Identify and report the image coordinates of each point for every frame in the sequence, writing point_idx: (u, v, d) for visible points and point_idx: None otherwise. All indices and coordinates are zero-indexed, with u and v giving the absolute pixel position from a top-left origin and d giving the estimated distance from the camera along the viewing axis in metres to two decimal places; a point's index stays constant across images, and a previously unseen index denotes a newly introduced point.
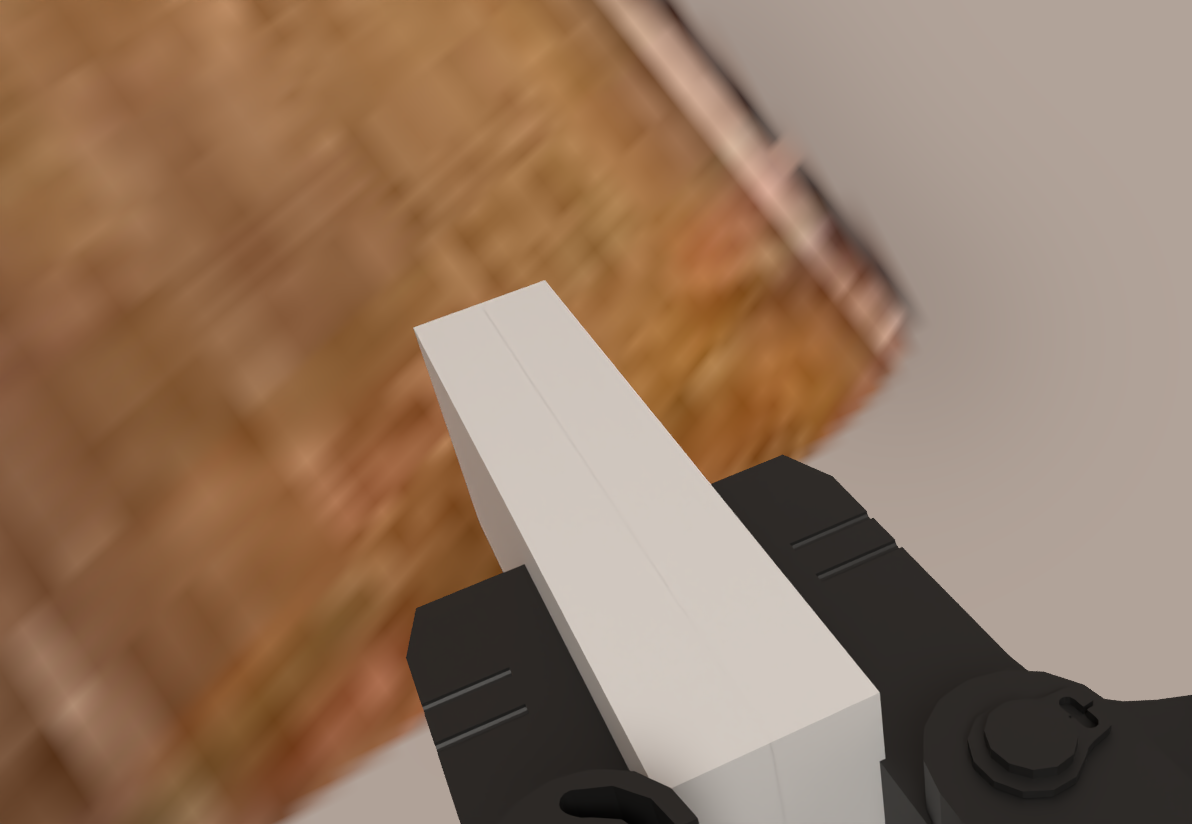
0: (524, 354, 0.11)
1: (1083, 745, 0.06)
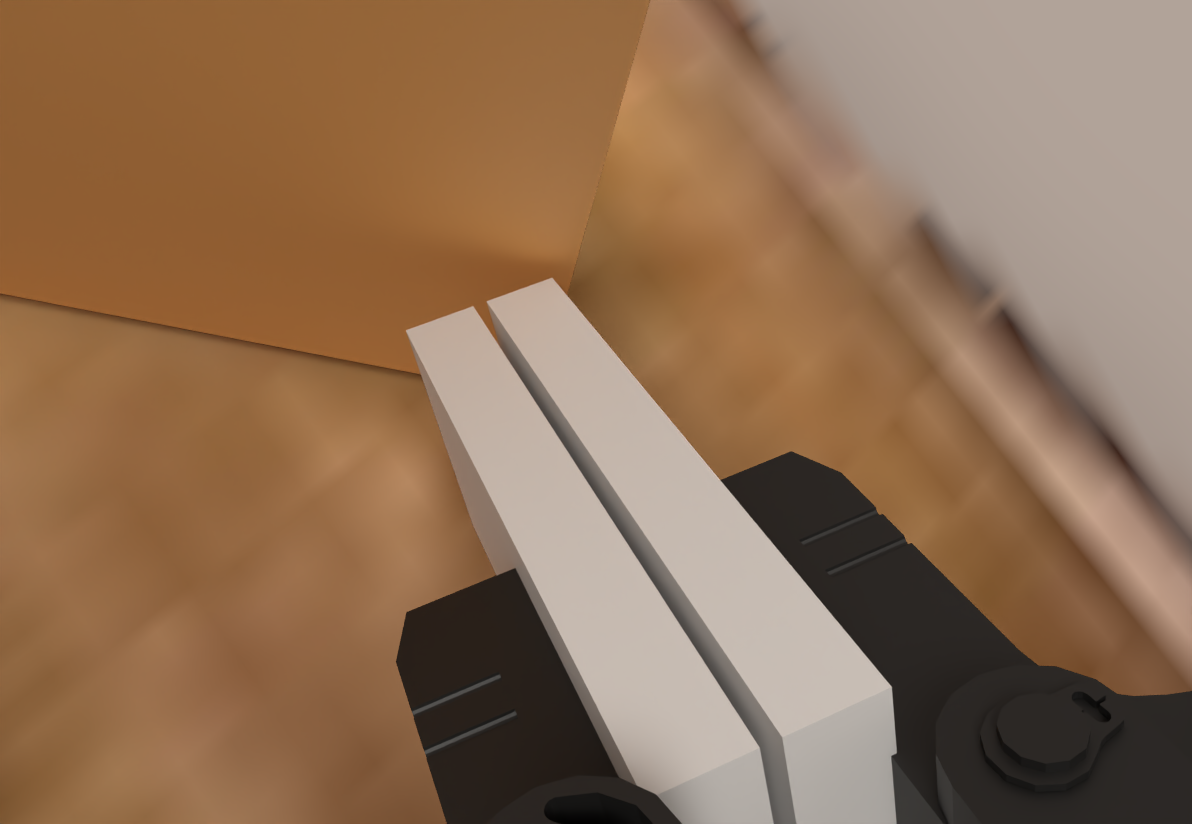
0: (532, 352, 0.11)
1: (1096, 739, 0.07)
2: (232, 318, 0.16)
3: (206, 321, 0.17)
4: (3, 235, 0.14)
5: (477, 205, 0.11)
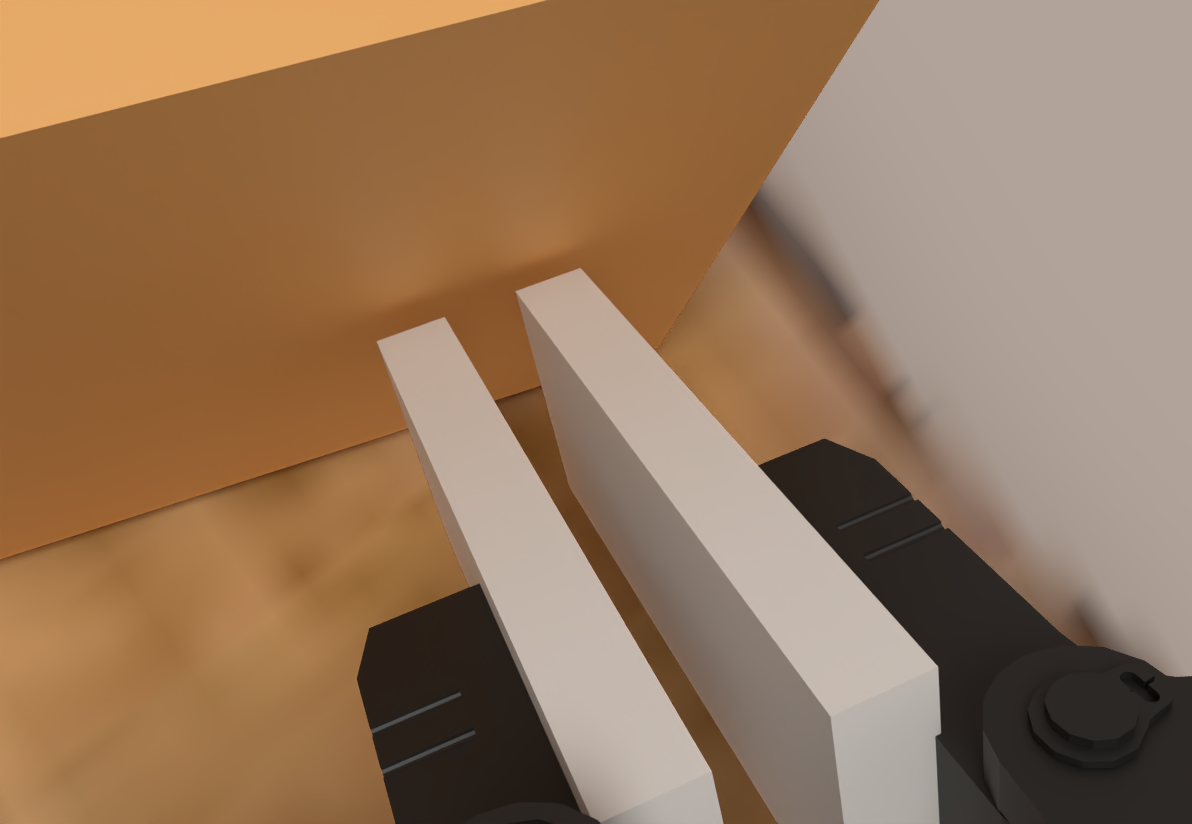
0: (563, 340, 0.11)
1: (1145, 719, 0.07)
2: (380, 419, 0.17)
3: (352, 436, 0.17)
4: (175, 450, 0.14)
5: (683, 186, 0.12)
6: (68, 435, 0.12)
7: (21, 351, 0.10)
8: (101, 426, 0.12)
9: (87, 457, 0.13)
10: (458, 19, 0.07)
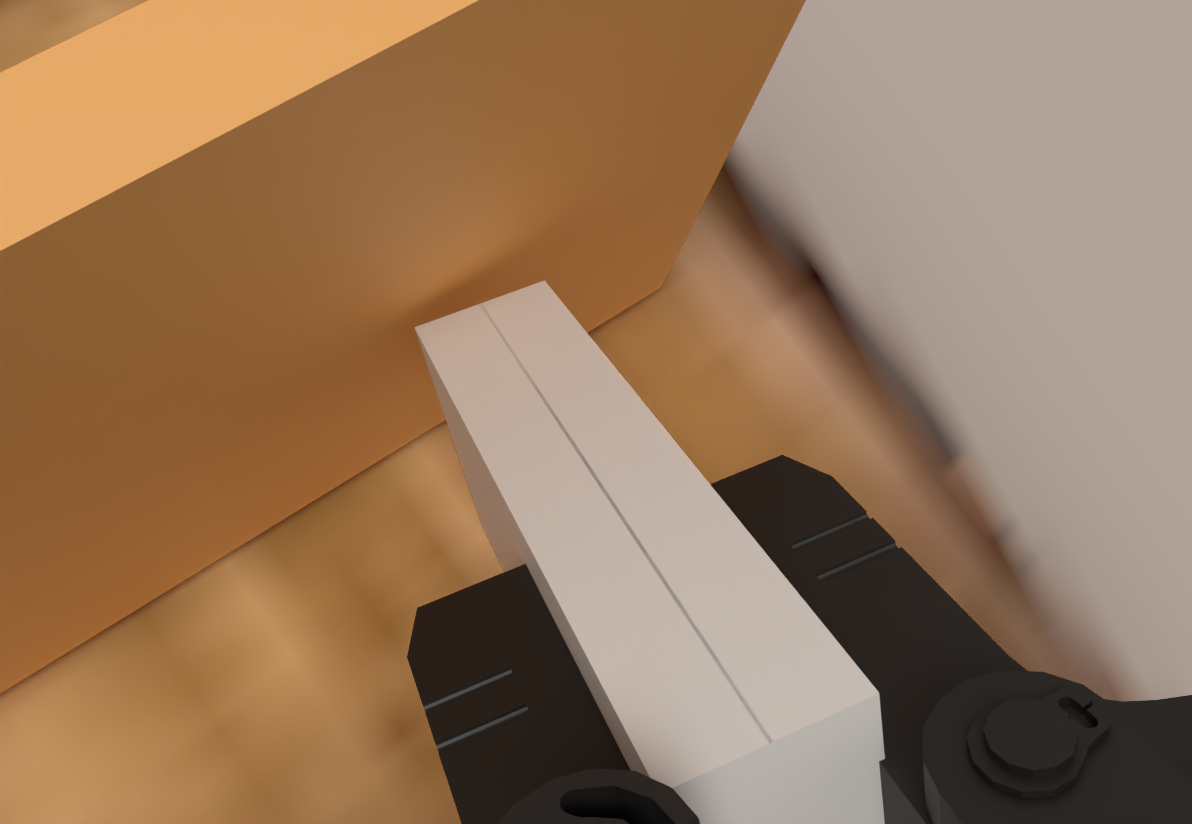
0: (524, 355, 0.11)
1: (1083, 745, 0.06)
2: (418, 418, 0.17)
3: (393, 441, 0.17)
4: (238, 492, 0.14)
5: (690, 112, 0.12)
6: (146, 497, 0.12)
7: (110, 419, 0.10)
8: (176, 482, 0.12)
9: (161, 518, 0.13)
10: None
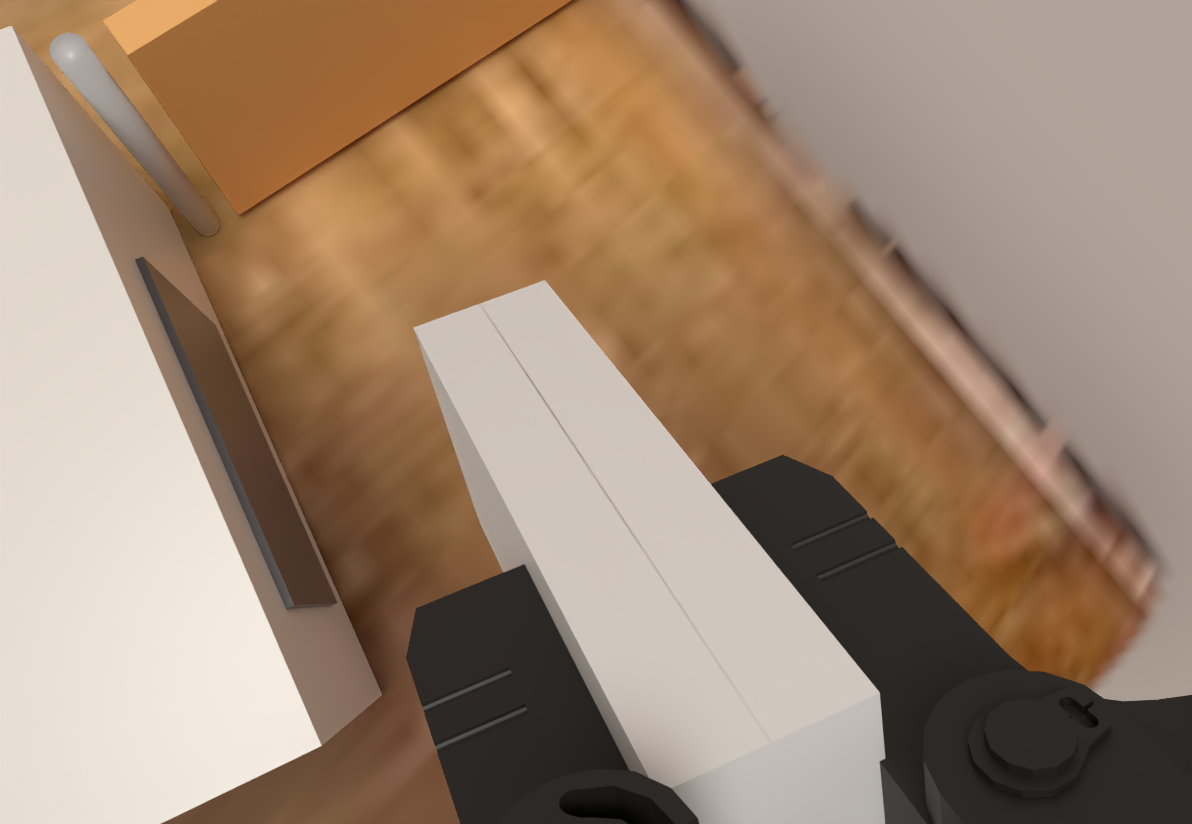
0: (524, 355, 0.11)
1: (1083, 745, 0.06)
2: (478, 44, 0.37)
3: (467, 58, 0.37)
4: (408, 59, 0.35)
5: None
6: (383, 40, 0.33)
7: None
8: (393, 34, 0.33)
9: (383, 60, 0.34)
10: None
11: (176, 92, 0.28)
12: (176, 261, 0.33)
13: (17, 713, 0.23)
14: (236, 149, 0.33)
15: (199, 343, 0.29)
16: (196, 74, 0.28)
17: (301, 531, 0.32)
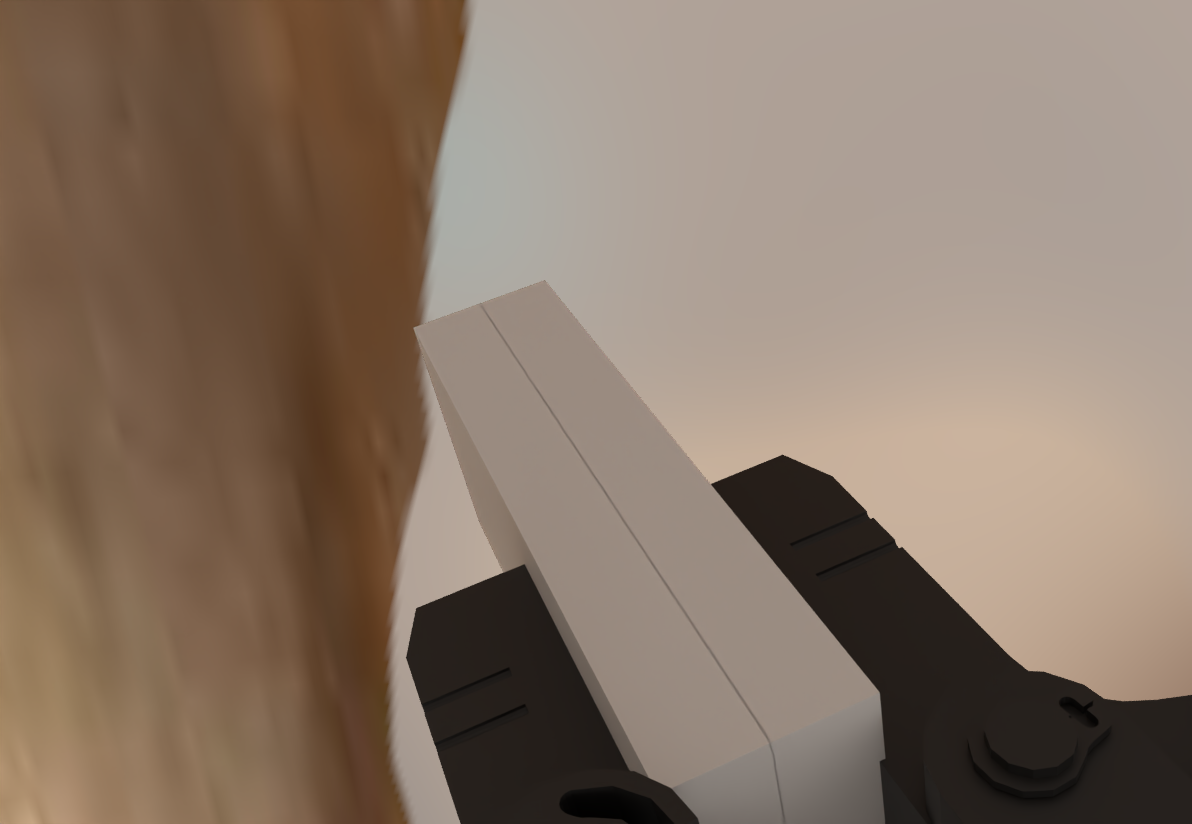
0: (525, 355, 0.11)
1: (1083, 745, 0.06)
2: None
3: None
4: None
5: None
6: None
7: None
8: None
9: None
10: None
11: None
12: None
13: None
14: None
15: None
16: None
17: None
